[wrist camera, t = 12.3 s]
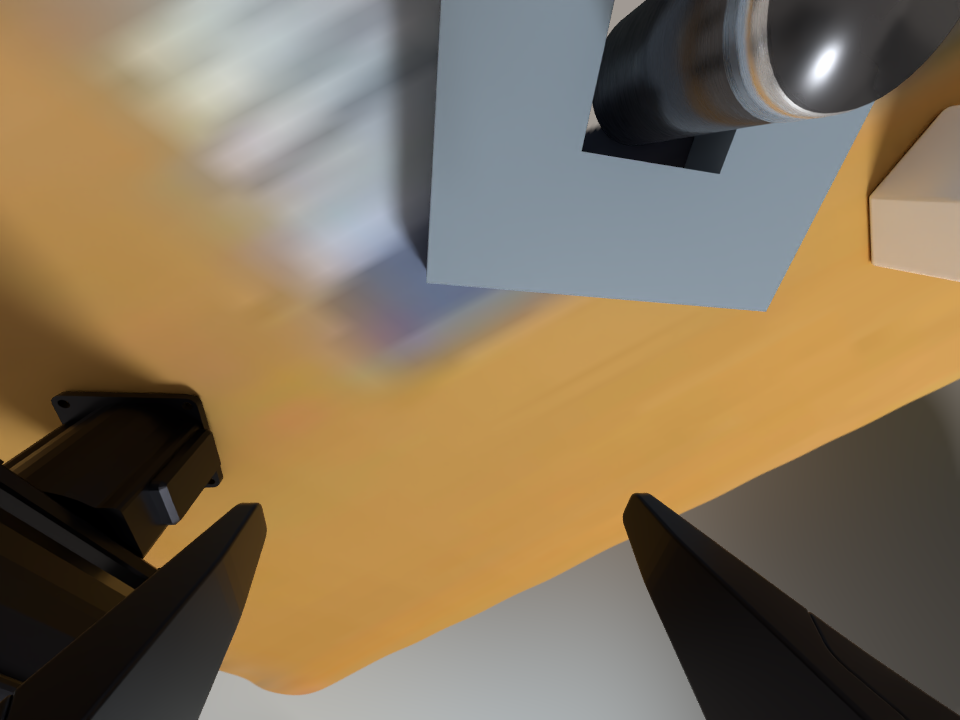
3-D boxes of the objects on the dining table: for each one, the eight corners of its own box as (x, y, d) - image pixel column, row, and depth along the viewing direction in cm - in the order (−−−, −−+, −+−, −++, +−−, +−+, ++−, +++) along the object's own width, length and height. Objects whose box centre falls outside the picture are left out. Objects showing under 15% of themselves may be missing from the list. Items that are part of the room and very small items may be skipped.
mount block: (426, 269, 17) (426, 283, 15) (460, -390, 9) (471, -563, 7) (729, 297, 21) (765, 311, 18) (947, -177, 13) (1057, -253, 10)
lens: (578, 137, 16) (733, 94, 8) (609, -9, 13) (868, -276, 6) (672, 154, 17) (899, 129, 9) (716, 18, 14) (1071, -179, 6)
